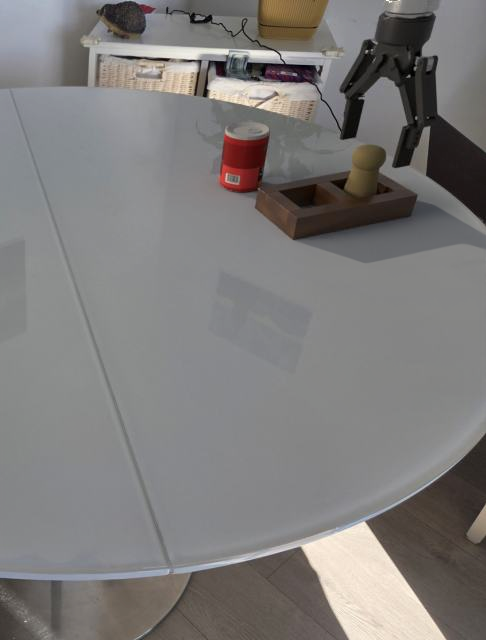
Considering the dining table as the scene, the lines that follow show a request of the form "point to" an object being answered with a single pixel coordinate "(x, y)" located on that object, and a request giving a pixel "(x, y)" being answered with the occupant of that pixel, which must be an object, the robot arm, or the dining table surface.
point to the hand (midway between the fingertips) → (372, 151)
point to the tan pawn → (365, 171)
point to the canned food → (244, 156)
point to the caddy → (331, 204)
